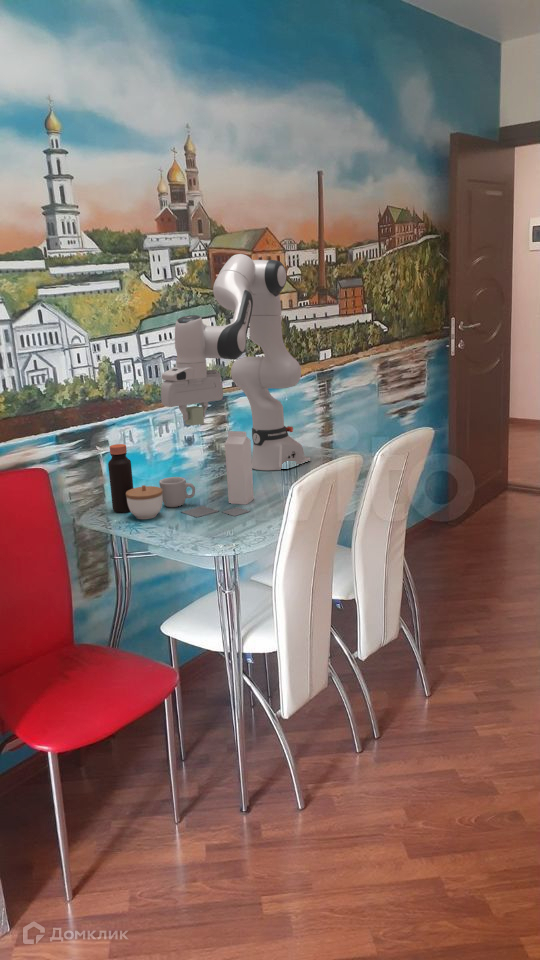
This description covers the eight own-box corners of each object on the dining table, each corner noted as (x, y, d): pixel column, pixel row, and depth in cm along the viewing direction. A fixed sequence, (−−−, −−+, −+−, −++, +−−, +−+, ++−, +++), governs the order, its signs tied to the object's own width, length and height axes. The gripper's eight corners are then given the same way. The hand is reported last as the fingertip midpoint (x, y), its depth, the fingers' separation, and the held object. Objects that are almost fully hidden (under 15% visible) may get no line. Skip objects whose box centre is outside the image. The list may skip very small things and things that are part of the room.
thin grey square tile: (202, 506, 252) (202, 505, 252) (218, 511, 247) (218, 510, 247) (181, 512, 248) (181, 511, 248) (196, 517, 242) (196, 517, 242)
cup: (198, 501, 258) (196, 476, 256) (193, 508, 251) (191, 483, 249) (164, 501, 260) (162, 477, 258) (158, 509, 252) (156, 483, 250)
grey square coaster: (237, 507, 249) (237, 507, 249) (250, 511, 245) (250, 511, 245) (221, 512, 245) (221, 511, 245) (234, 516, 241) (234, 515, 241)
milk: (236, 498, 259) (232, 429, 254) (254, 499, 257) (250, 429, 252) (228, 503, 254) (223, 433, 248) (246, 504, 252) (242, 433, 246)
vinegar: (108, 512, 251) (101, 448, 246) (120, 506, 257) (113, 443, 252) (128, 513, 249) (122, 448, 244) (139, 507, 255) (133, 443, 250)
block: (196, 422, 251) (195, 405, 249) (203, 423, 248) (203, 407, 246) (185, 424, 248) (184, 407, 247) (192, 425, 245) (191, 408, 244)
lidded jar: (127, 523, 240) (124, 492, 237) (128, 512, 250) (125, 482, 248) (165, 519, 241) (162, 488, 239) (164, 509, 252) (161, 479, 249)
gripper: (213, 368, 253) (216, 413, 256) (156, 374, 240) (159, 421, 243) (226, 369, 248) (228, 415, 251) (168, 375, 236) (171, 424, 239)
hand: (194, 418), depth 247 cm, fingers closed on block, 4 cm apart
